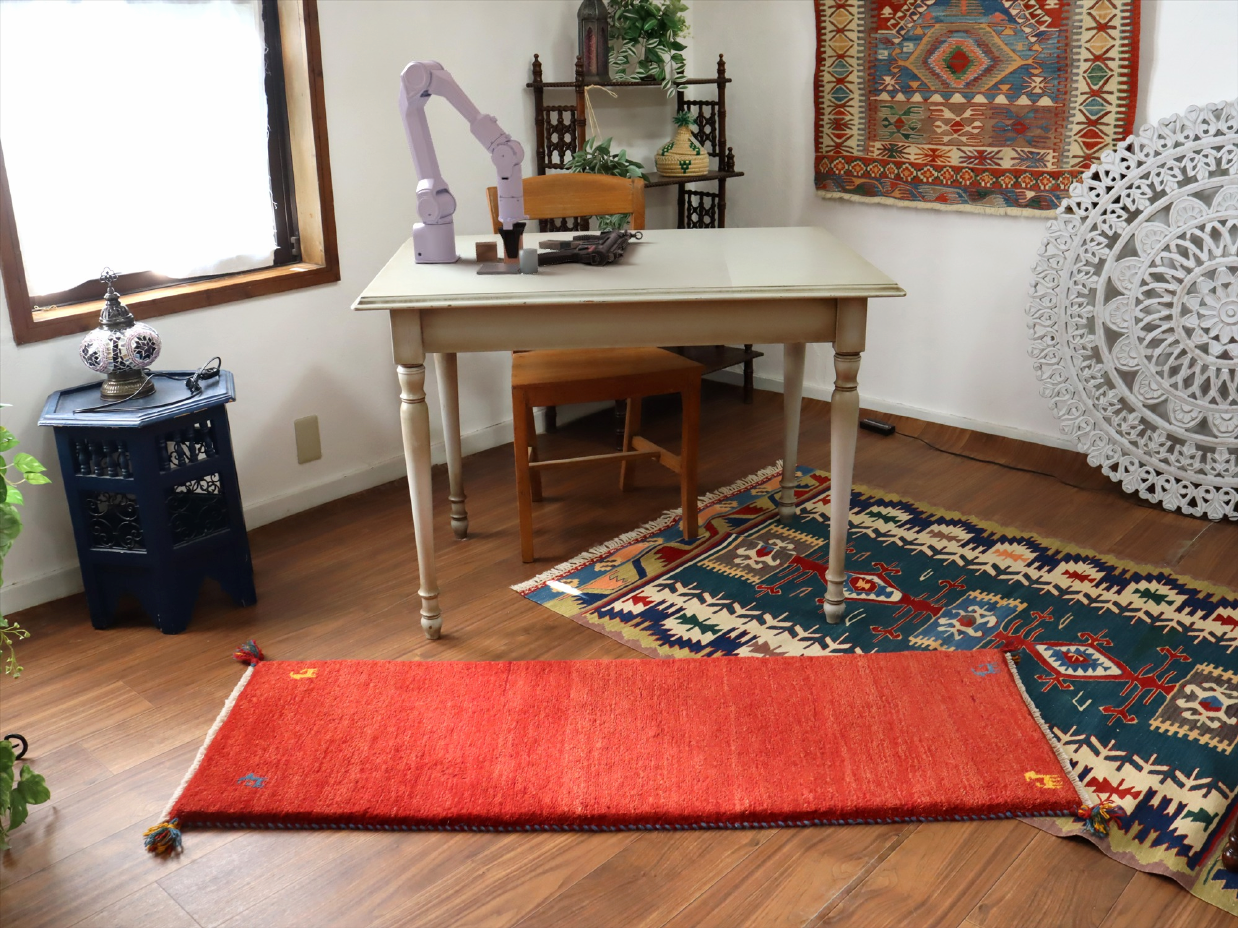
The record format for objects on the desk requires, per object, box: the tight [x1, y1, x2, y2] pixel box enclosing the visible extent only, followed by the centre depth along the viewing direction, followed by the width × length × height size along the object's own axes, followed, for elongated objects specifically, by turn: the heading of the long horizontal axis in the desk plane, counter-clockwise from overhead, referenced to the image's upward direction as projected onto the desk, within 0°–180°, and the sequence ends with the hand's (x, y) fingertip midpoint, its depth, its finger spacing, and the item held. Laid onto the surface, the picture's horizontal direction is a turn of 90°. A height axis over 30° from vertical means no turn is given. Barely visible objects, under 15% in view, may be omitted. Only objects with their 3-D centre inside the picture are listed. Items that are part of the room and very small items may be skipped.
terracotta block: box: [502, 234, 524, 264], centre depth 245 cm, size 4×4×6 cm
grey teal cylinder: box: [519, 247, 539, 275], centre depth 234 cm, size 4×4×5 cm
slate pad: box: [476, 263, 520, 275], centre depth 237 cm, size 9×9×1 cm
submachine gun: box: [538, 228, 644, 267], centre depth 254 cm, size 33×4×25 cm
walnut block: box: [474, 240, 499, 263], centre depth 249 cm, size 5×4×4 cm
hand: (514, 256), depth 245 cm, fingers closed on terracotta block, 4 cm apart
